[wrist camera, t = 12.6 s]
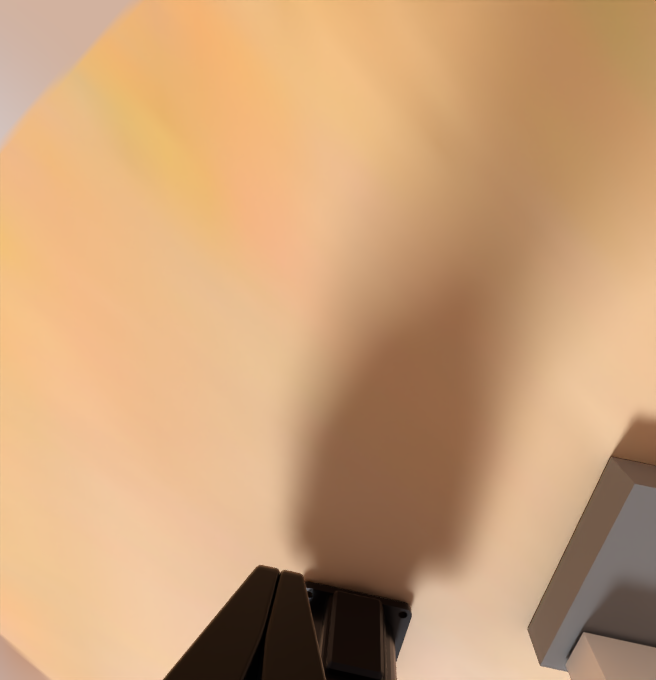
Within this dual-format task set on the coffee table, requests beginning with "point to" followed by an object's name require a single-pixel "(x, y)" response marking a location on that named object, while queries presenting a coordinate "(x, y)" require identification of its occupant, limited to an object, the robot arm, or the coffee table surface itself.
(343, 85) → the coffee table surface
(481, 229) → the coffee table surface
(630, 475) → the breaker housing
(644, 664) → the knob
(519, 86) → the coffee table surface
